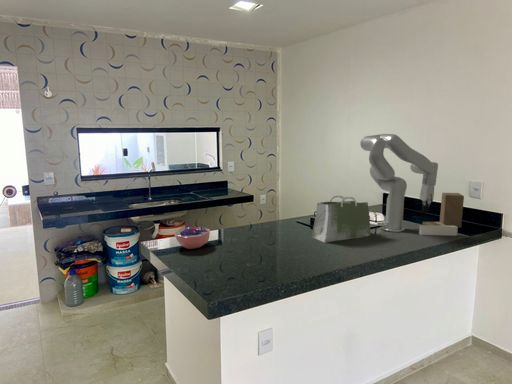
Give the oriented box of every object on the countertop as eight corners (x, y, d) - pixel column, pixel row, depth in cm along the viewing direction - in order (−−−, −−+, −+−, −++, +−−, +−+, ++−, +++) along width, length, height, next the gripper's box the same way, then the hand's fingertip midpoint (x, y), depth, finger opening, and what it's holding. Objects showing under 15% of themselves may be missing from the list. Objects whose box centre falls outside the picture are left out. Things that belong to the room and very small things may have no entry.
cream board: (420, 234, 216) (421, 226, 215) (418, 233, 219) (419, 225, 218) (456, 235, 215) (457, 227, 214) (454, 234, 218) (455, 225, 217)
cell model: (218, 244, 198) (218, 223, 196) (193, 255, 181) (193, 232, 179) (193, 239, 207) (192, 219, 205) (167, 249, 190) (166, 227, 188)
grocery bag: (355, 230, 227) (356, 191, 223) (371, 236, 214) (373, 195, 211) (310, 236, 213) (311, 195, 209) (324, 243, 201) (326, 200, 197)
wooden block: (461, 228, 231) (464, 195, 228) (443, 227, 233) (446, 195, 230) (456, 224, 241) (459, 193, 238) (439, 223, 243) (441, 192, 240)
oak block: (428, 234, 219) (429, 225, 218) (421, 229, 228) (422, 221, 227) (445, 234, 219) (446, 225, 218) (438, 229, 228) (439, 221, 227)
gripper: (418, 180, 238) (414, 209, 240) (427, 183, 223) (423, 214, 226) (430, 181, 237) (426, 210, 240) (440, 184, 222) (436, 215, 225)
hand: (424, 211), depth 233 cm, fingers closed
